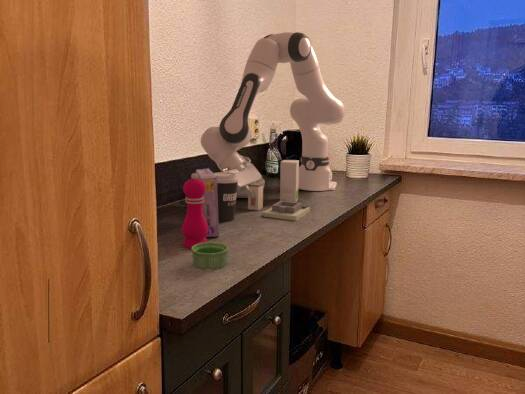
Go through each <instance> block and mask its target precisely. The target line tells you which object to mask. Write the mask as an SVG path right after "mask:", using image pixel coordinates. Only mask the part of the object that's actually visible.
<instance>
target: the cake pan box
mask: <svg viewBox="0 0 525 394" xmlns="http://www.w3.org/2000/svg"><path fill="white" fill-rule="evenodd" d="M195 173H196V174H197V175H198V178H197V179H200V180H202V181H203V182H204V184H205V186H206V191H205V193H204V194H203V197H204V202H203V203H202V212H203V215H204V218H205V220H206V222H207V225H208V233H207V235H206V236H205V238H219V236H220V232H219V231H220V228H219V225H220V223H219V222H220V221H219V220H218V193H217V178H216V177H215V176H214V174H213V173H214V172H213V171H212V170H211V169H210V168H201V169H196V170H195Z"/></svg>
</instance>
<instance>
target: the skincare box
mask: <svg viewBox="0 0 525 394" xmlns="http://www.w3.org/2000/svg"><path fill="white" fill-rule="evenodd" d="M279 167H280V168H279V169H280V170H279V171H280V176H279V177H280V181H279V182H280V183H279V186H280V187H279V189H280V190H279V191H280V192H279V201H289V202H297V201H298V199H299V188H298V183H299V167H300V160H297V159H283V160H281V161H280V166H279Z"/></svg>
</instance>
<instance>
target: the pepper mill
mask: <svg viewBox="0 0 525 394" xmlns="http://www.w3.org/2000/svg"><path fill="white" fill-rule="evenodd" d="M197 178H198V175H197V174H196V172H193V173H192V174H191V176H190V179H188V180H186V181H185V182H184V183H183V188H182V190H183V194H185V198H184V199H185V203H186V207H187V211H186V215H185V217H184V220H183V223H182V225H181V233H182V235H183V236H184V238H183V247H184V248H187V249H191V248H192V246H194V245H196V244H199V243H204V242H208V239H207V237H205V236H206V235H207V233H208V225H207V222H206V220H205V218H204V215H203V212H202V203H203V202H204V197H203V194H204V193H205V191H206V186H205V184H204V182H203V181H202V180H200V179H197Z"/></svg>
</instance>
